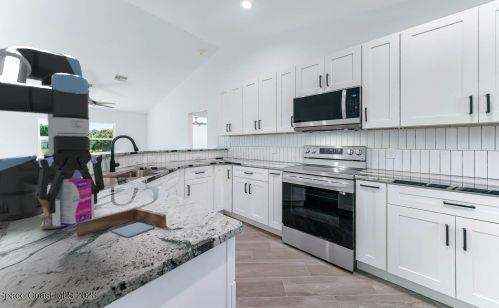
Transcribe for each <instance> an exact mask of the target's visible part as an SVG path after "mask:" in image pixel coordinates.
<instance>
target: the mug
mask: <svg viewBox="0 0 499 308" xmlns="http://www.w3.org/2000/svg"><path fill="white" fill-rule="evenodd" d="M38 200H39V201H40V203H41V205H42V207H43V211H44V212H43V218H42V223H41V224H40V226H39V227H40V228H41V229H43V230H55V229H60V228H63V227H67V225H60V226H55V225H53V223H52V214H50V213H48V211H47V201H46V200H41V199H38Z"/></svg>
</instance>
